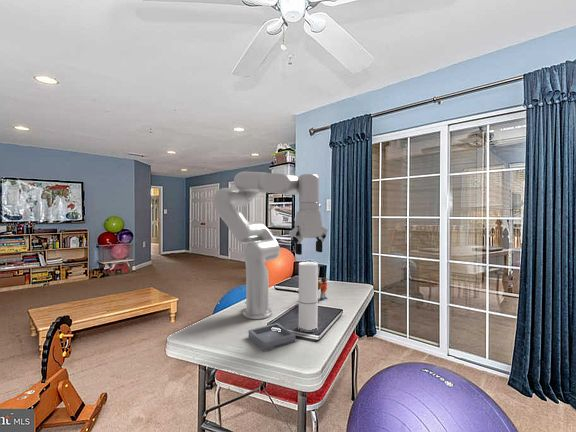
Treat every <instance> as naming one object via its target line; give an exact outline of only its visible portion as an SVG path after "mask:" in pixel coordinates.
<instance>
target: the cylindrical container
mask: <svg viewBox="0 0 576 432" xmlns="http://www.w3.org/2000/svg"><path fill="white" fill-rule="evenodd" d="M318 266H319V263H318V262H315V261H302V262H301V261H300V262H299V263H298V328H299V327H300V328H303V329H306V330H312V329H315V328H317V329H318V314H319V313H318V309H319V308H318V305H319V304H318V303H319V302H318V299H319V298H318V295H319V290H318V281H319V277H318V275H319V272H318V271H319V270H318V269H319V268H318Z"/></svg>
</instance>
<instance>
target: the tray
mask: <svg viewBox="0 0 576 432" xmlns="http://www.w3.org/2000/svg"><path fill="white" fill-rule="evenodd" d="M272 327H278V328H280V329H281V332H278V331H271V328H272ZM248 338H249V339H250V340H251V341H252V342H254V343H255V344H256V345H257V346H258V347H259V348H261V349H262V350H263V351H264V352H267V351H270V350H273V349H276V348H279V347H283V346H285V345H289V344H292V343H293V344H294V343H296V334H295V333H294V332H292V331H291V330H289V329H288V328H287V327H285V326H283V325H281V324H280V323H278V322H275V323H270V324H267V325H264V326H260V327H256V328H252V329H248Z"/></svg>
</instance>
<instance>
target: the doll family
mask: <svg viewBox="0 0 576 432" xmlns="http://www.w3.org/2000/svg"><path fill="white" fill-rule="evenodd" d="M327 289H328V279H327V277H326V276H324V277H322V278H321V280H318V291H319V290H320V296H319V297H320V298H319V300H321V301H325V300H328V296H327V295H326V292H327Z"/></svg>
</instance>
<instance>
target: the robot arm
mask: <svg viewBox="0 0 576 432" xmlns="http://www.w3.org/2000/svg"><path fill="white" fill-rule="evenodd" d="M319 182H320V177H319V176H318V174H315V173H303V174H300V175H295V174H294V175H293V174H290V173H289V174H288V173H287V174H286V173H276V172H275V173H274V172H273V173H272V172H263V171H240V172H238V173H237V174H235V176H234V178H233V184H234V186H235V187H221V188H219V189H217V191H216V192H215V193H214V195H213V206H214V210H215V212H216V213H217V215H218V216H219V218H221V220H222V221H223V222H224V223H225V226H227V228H228V230H229V231H230V232H231V234H232V235H233V236H234V238H235V239H236V241H237V242H238V243H239V244H242V245H245V247H244V249H243V258H244V263H245V279H246V281H245V287H246V289H245V290H246V291H245V294H246V295H245V296H246V297H245V298H246V299H245V300H246V301H245V302H244V303H245V306H246V307H245V309H244V310H243V311H242V316H243V317H244V318H246V319H248V320H249V319H250V320H261V319H266V318H270V317H271V316H272V315H273V310H272V309H271V308H269V305H270V303H269V301H270V300H269V295H270V294H269V285H270V284H269V282H270V281H269V280H270V279H269V270H268V267H267V265H266V262H270V261H273V260H276V259H277V258H279V256H280V255H281V247H280V244H279V242H278V241H277V239H276V238H275V236H274V235H273V234H272V233H271V232H270V230H269V228H268V227H267V226H266V225H265V224H263V223H262V222H260V221H249V220H248V219H247V218H246V217H245V216H244V214H243V213H242V212H241V211H239V210H238V209H237V208H235V207H246V206H247V205H249V204H250V203H251V202H252V201H253V200H254V199H255V198H256V197H257V196H258V195H259V194H261V193H262V194H266V193H267V194H270V193H271V194H279V195H291V196H293V195H295V196H296V195H298V210H297V211H296V214H295V220H294V228H293V229H291V230H290V231H289V232H288V234H289V237H290V239H291V240H292V242H293V244H294V253H295V255H302V254H303V247H302V246H303V245H302V241H303V239H311V238H315V239H316V241H315V252H317V253H323V242H325V239H326V237H327V234H328V229H327V228H325V227H324V226H323V222H322V214H321V211H320V208H321V206H322V205H321V204H320V183H319Z"/></svg>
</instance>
